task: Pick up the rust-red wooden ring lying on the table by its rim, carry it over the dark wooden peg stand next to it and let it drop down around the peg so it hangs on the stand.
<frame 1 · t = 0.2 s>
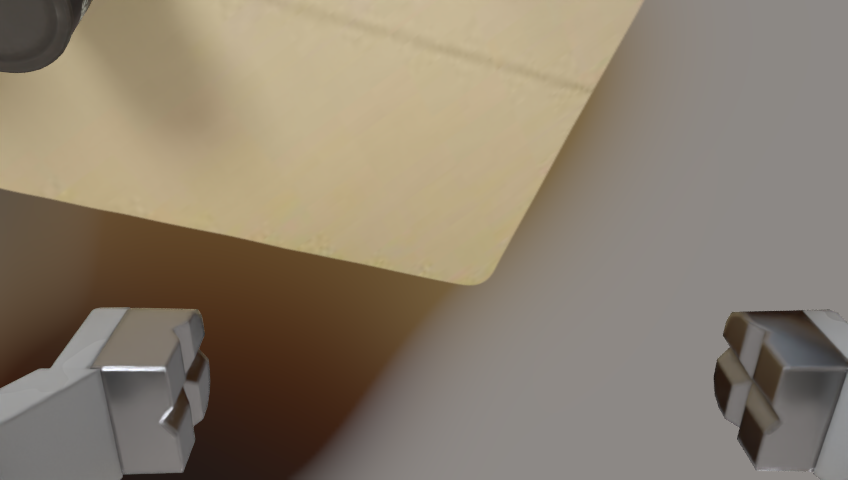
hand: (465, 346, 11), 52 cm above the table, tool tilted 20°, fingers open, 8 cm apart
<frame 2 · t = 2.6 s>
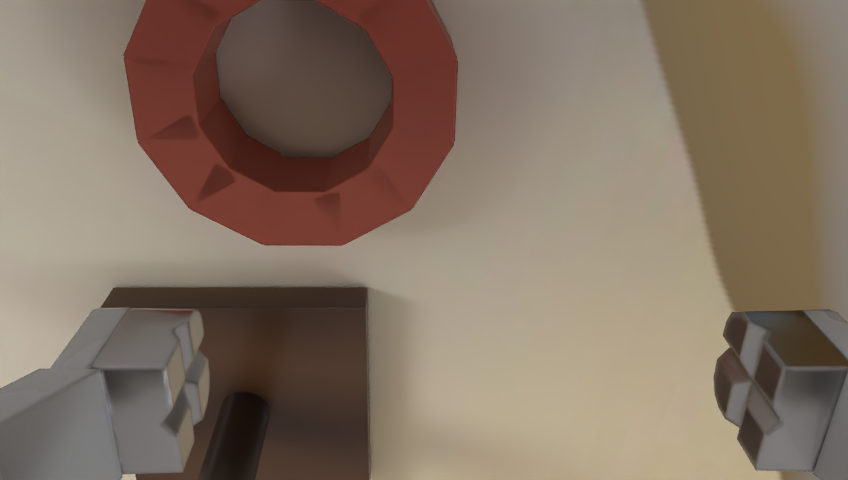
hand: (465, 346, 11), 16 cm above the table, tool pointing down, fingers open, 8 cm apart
peg stand: (252, 388, 32), on the table
ring: (305, 75, 26), on the table
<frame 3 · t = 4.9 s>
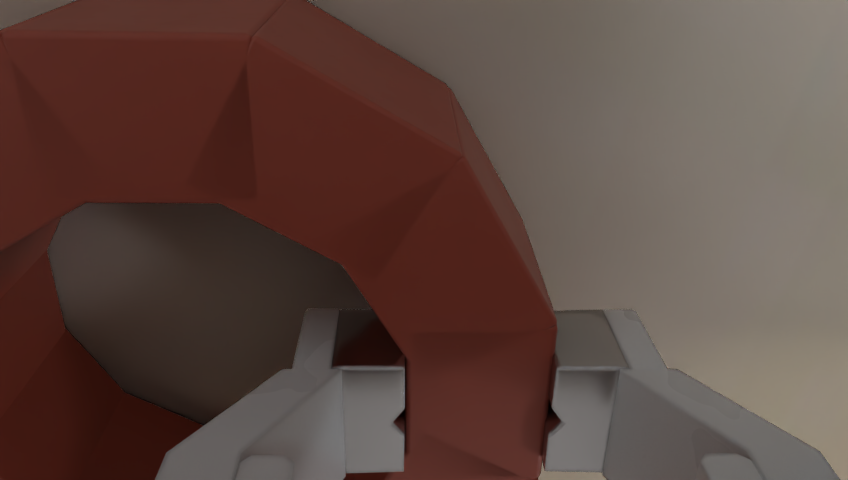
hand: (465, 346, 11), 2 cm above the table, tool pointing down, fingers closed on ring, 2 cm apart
ring: (232, 289, 13), on the table, touching gripper
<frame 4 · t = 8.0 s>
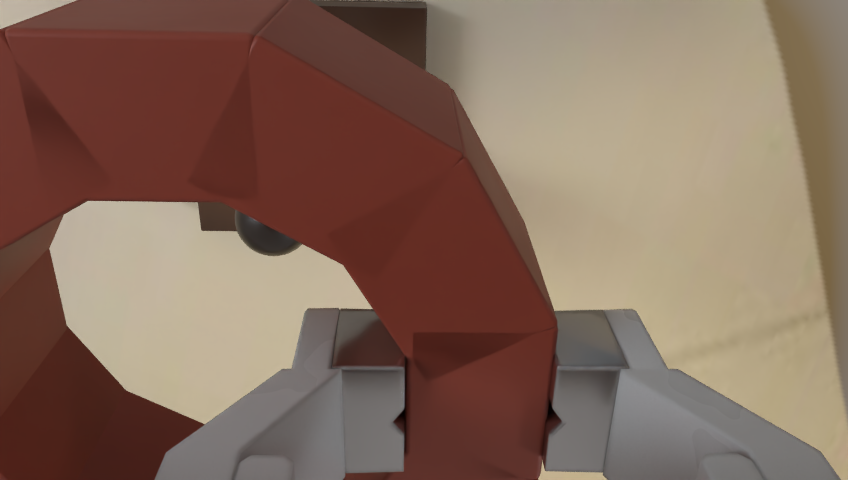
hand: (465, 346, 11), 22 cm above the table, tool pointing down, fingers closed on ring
peg stand: (310, 116, 33), on the table
ring: (234, 288, 13), point 21 cm above the table, touching gripper
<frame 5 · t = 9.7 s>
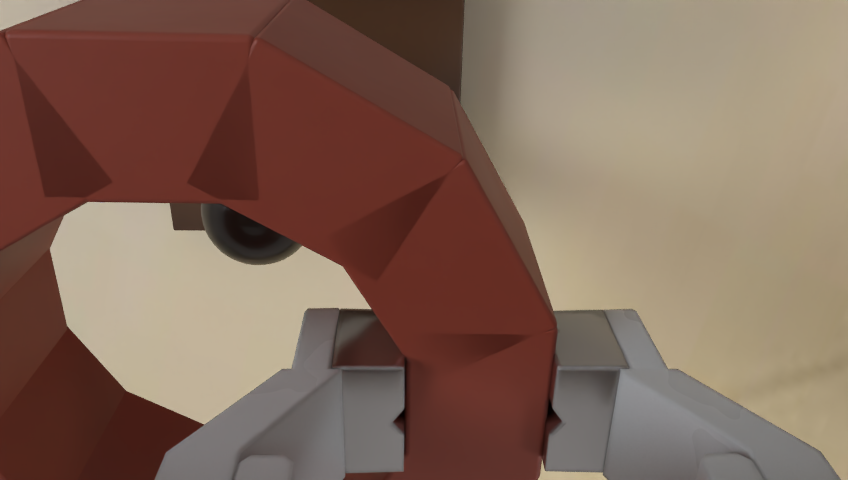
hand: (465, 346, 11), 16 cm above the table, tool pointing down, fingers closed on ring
peg stand: (312, 82, 25), on the table
ring: (234, 289, 13), point 14 cm above the table, touching gripper
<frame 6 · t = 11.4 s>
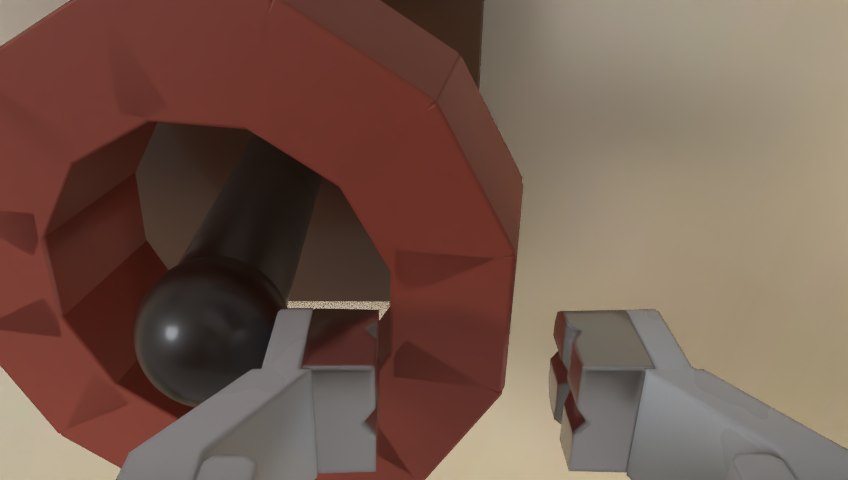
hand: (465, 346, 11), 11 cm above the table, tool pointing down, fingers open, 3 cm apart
peg stand: (299, 126, 21), on the table
ring: (277, 218, 15), point 7 cm above the table, tilted 10°
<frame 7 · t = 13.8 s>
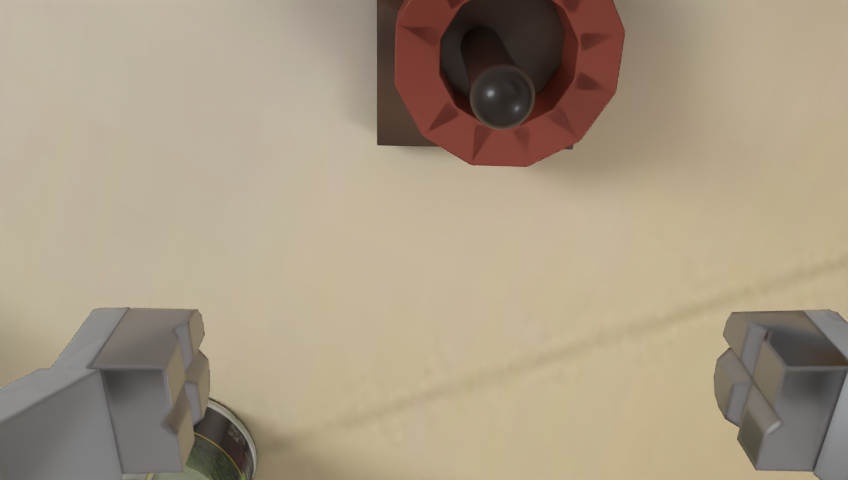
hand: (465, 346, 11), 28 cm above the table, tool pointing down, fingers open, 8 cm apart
peg stand: (478, 42, 37), on the table
coffee can: (178, 450, 48), on the table
ring: (500, 45, 35), point 1 cm above the table, touching peg stand
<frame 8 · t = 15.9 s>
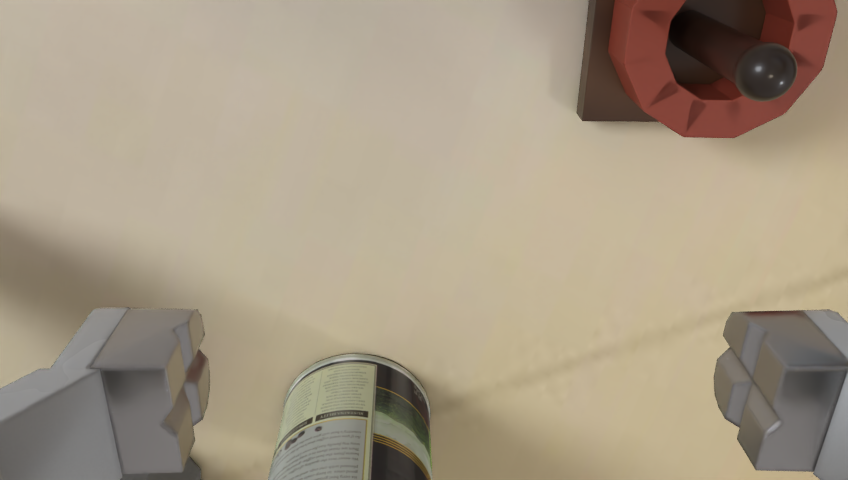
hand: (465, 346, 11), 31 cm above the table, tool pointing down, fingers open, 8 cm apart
peg stand: (677, 24, 40), on the table
coffee can: (356, 410, 51), on the table
ring: (705, 26, 39), point 1 cm above the table, touching peg stand
coffeepot: (135, 466, 53), on the table
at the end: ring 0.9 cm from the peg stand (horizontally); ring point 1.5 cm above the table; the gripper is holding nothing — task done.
